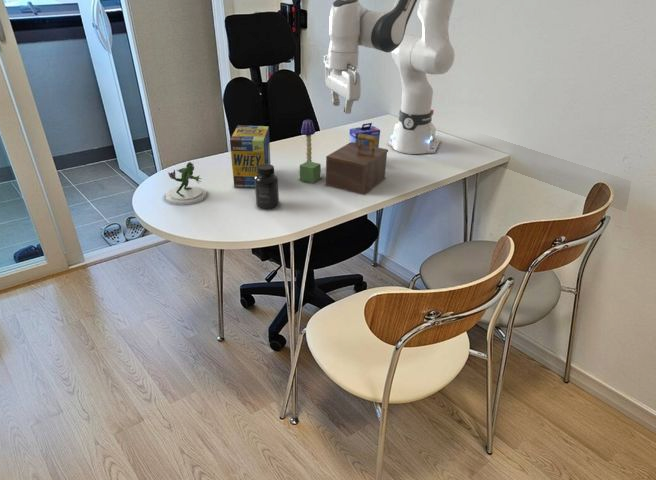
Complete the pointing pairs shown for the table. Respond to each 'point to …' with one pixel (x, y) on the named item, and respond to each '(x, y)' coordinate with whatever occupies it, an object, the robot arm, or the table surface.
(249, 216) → the table surface
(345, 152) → the chest lid
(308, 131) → the toy lamp
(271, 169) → the supplement bottle
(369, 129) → the ink cartridge box
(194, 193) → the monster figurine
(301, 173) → the green toy block
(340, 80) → the robot arm
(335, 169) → the chest
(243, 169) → the protein box
